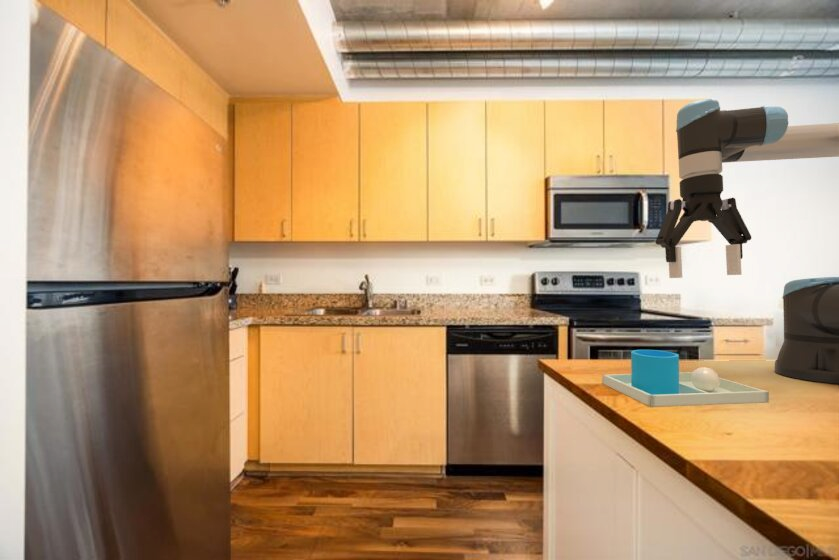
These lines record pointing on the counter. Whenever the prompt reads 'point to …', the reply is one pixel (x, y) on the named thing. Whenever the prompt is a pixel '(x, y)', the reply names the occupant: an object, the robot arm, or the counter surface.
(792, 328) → the robot arm
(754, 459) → the counter surface
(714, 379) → the egg
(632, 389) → the grey-green flat rectangular tray
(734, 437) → the counter surface
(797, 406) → the counter surface
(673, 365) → the mug
